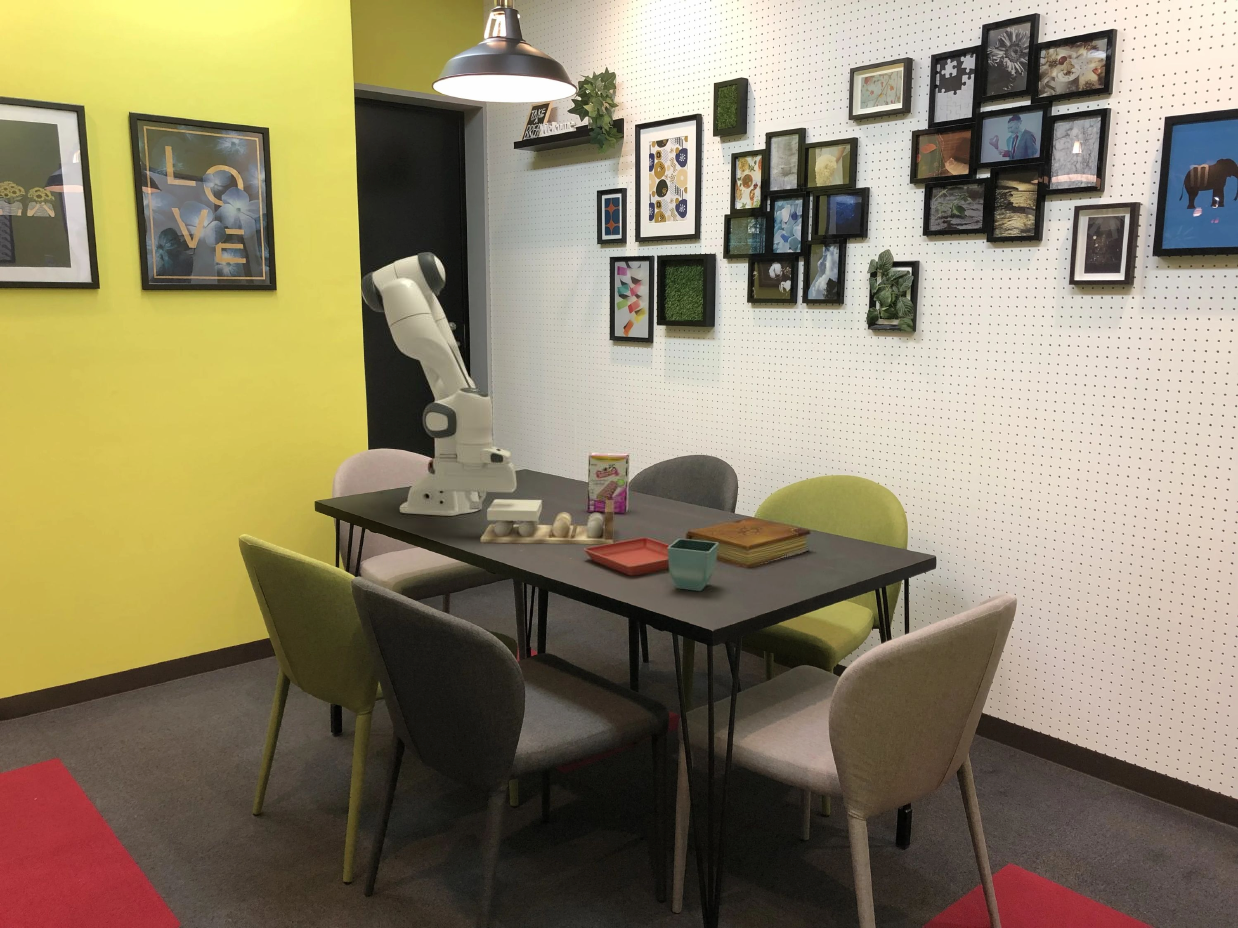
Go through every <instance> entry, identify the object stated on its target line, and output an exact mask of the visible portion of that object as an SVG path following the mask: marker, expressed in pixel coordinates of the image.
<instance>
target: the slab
mask: <svg viewBox="0 0 1238 928" xmlns="http://www.w3.org/2000/svg"><path fill="white" fill-rule="evenodd" d="M542 510H543V500H542V499H494V500H493V502H491V504H490V506H489V507H488V508H487V510H486V512H487V513H486V517H487V518H486V519H487V521H498V520H509V521H519V522H522V521H537V519H538V517H539V518H540V514H541V512H542Z"/></svg>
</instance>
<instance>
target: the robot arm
mask: <svg viewBox="0 0 1238 928" xmlns="http://www.w3.org/2000/svg"><path fill="white" fill-rule="evenodd" d="M445 271H446V270H445V267H444V265H443V264H442V262H441V260H440V259H439V258H438V257H437V256H436V254H434V253H432V252H430V251H427V252H420V253H417V255H412V256H408V257H405V258H401V259H398V260H395V261H394V262H393V263H390V264H388V265H386V266H383V267H381V268H379V269H378V270H376V271H371V272H369V273H368V274H366V275H365V276H364V277H363V278H362V279H361V282H360V287H361V295H362V297H363V300H364V301H365V304H367V305H368V306H369V308H370V309H371V310H372V311H375V312H376V313H384V314H385V318H386V321H387V324H388V328H389V329H390V330H389V331H390V333H391V335H392V339H393V342H394V343H395V344H396V346H397V348H398V349H399V351H400V352H401V353H403V354H404V355H405V356H408V357H410V358H411V359H414V360H417V361H419V362H420V365H421V367H422V370H423V372H424V375H425V378H426V380H427V381H428V384H429V386H430V389H431V391H432V394H433V397H434V401H433V402H430V403H429V404H428V405H427V406H426V407H425V408H424V411H423V413H422V424H423V428H424V430H425V432H426V434H427V435H429V436H430V437H431V438H434V458H431V459H430V460H429V461H428V462H427V471H428V473H426V475H423V476H422V477H421V478H420V479H419V480H417V481H416V482H415V483H414V484H413V485H412V486H411V487H410V488H409V491H408V495H407V501H405V502H403V503H401V505H400V506H399V512H400V513H403V514H410V515H411V514H413V515H414V514H415V515H429V516H430V515H432V516H450V517H451V516H458V515H462V514H468V513H469V514H470V513H474V512H477V511H480V510H482V508H483V501H484V499H485V498H486V496H487V493H513V492H514V491H515V490H516V489H517V475H516V469H515V465H514V464H513V463H512V462H511V459H512V454H511V451H509V450H506V449H503V448H499V447H496V446H494V441H493V436H492V429H493V423H494V422H493V421H494V420H493V419H494V418H493V417H494V416H493V406H492V400H491V396H490V393H488V392H487V391H486V390H484V389H480V388H476V385H475V382H474V381H473V379H471V377H470V376H469V374H468V371H467V369H466V366H465V363H464V360H463V358H462V356H461V353H460V349H459V347H458V346H459V345H458V344H457V342H456V339H455V336H454V333H453V331H452V329H451V327H450V323H449V321H448V318H447V316H446V314H445V312H444V309H443V307H442V306H441V304H440V301H439V300H438V298H437V297H438V296H439V295H440V292H441V290H443V289H444V287H445V285H446V272H445Z"/></svg>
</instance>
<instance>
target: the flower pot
mask: <svg viewBox="0 0 1238 928" xmlns="http://www.w3.org/2000/svg"><path fill="white" fill-rule="evenodd" d="M669 545H670V546H669V547H668V548H667V549H668V562H669V574H670V577H671V580H672V582H673V584H674V585H675V587H676V588H677V589H680V590H689V591H697V592H701V591H703V590H704V588H706V586H707V585H708V583H709V582H710V580H711V578H712V575H713V574H714V571H715V567H716V564H717V560H716V558H717V552H718V545H719V543H717V542H708V541H699V540H689V539H686V538H677V539H676V540H675V541H674V542H672V544H669Z"/></svg>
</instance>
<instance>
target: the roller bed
mask: <svg viewBox="0 0 1238 928" xmlns="http://www.w3.org/2000/svg"><path fill="white" fill-rule="evenodd" d="M515 523H516V521H509V520H496V522H495V524H489V525H488V527H487V528H486V530H485V531H484V533H483V534H482V535H481V537H480V543H494V544H495V543H499V544H501V543H502V544H506V543H508V544H556V545H557V544H567V545H605V544H611V543H614V534H615V533H614V532H615V513H614V500H606V507H605V513H604V515H602V513H599V512H591V514H590V515H589V516H588V520H587V525H578V523H574V524H573V525H570V528H569V532H568V534H567V535H566V536H565V537H562V538H559V537H556V536H555V535H554V534H553V531H552V528H553V525H554V523H552V525H550V524H549V525H548V524H547V525H545V524H539V523H540V516H539V517H538V519H537V521H520V524H515Z"/></svg>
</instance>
